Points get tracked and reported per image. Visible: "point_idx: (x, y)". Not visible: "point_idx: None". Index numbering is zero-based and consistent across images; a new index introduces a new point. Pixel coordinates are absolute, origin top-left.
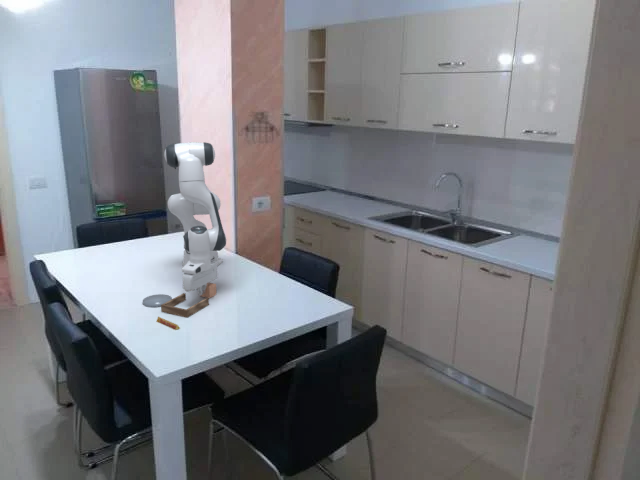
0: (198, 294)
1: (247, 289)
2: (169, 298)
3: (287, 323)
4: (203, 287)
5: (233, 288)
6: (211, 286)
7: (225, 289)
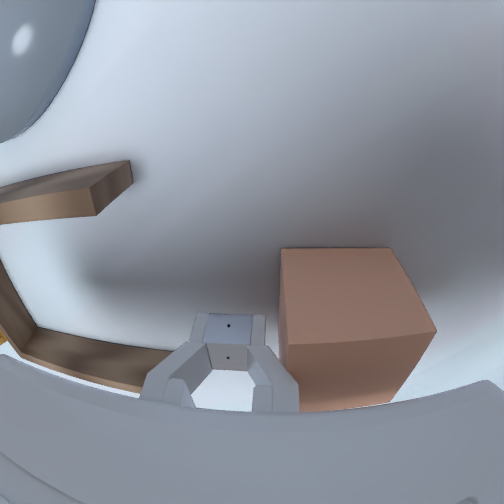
0: (197, 313)
1: (450, 380)
2: (35, 76)
3: None
4: (259, 381)
5: (469, 337)
6: (317, 409)
7: (459, 316)
